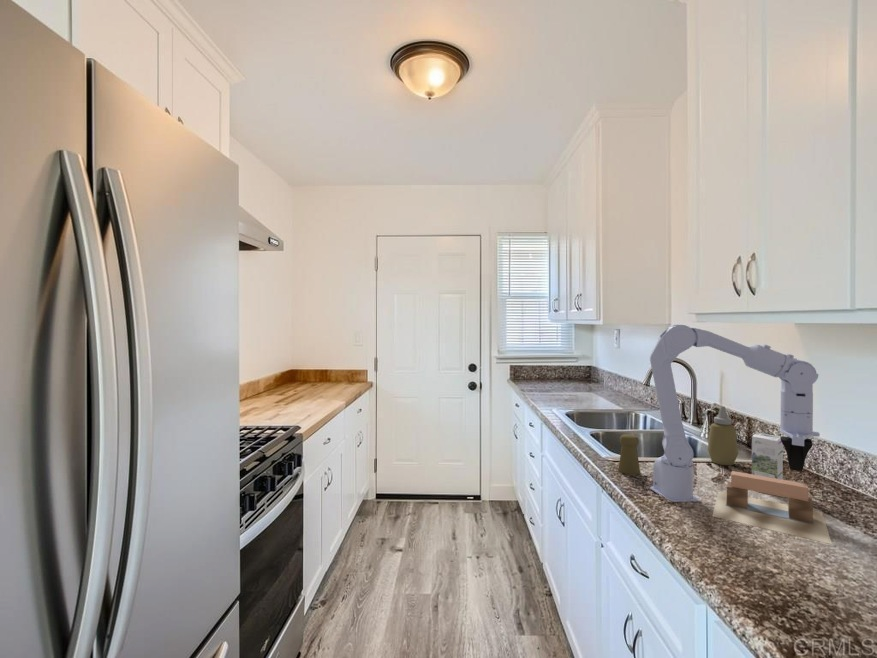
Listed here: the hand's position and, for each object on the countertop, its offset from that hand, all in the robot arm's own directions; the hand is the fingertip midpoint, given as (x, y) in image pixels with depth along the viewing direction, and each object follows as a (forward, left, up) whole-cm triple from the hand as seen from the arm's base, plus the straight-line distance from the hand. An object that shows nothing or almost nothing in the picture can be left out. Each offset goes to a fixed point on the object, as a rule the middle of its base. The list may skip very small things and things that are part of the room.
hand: (795, 469), depth 98 cm
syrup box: (-14, +6, -11) cm, 19 cm away
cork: (-31, -23, -11) cm, 40 cm away
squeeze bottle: (-35, +11, -11) cm, 38 cm away
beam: (-1, -6, -5) cm, 8 cm away
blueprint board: (0, -8, -10) cm, 13 cm away
